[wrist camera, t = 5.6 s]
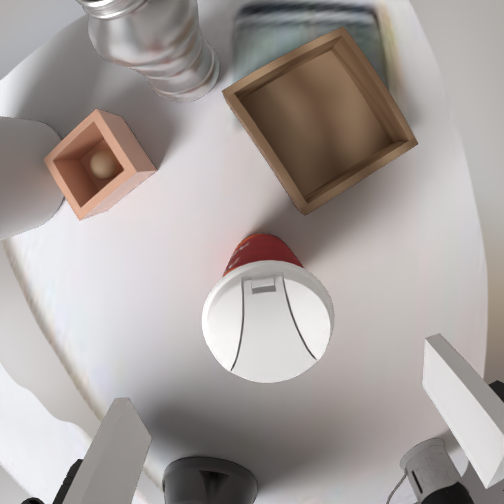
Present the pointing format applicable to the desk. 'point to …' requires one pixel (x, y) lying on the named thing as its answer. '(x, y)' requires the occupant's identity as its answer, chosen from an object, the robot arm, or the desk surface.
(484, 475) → the robot arm
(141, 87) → the desk surface
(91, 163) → the cork ball
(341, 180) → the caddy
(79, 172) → the planter
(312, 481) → the desk surface
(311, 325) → the coffee cup
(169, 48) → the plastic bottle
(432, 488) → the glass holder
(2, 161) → the cylinder vase
